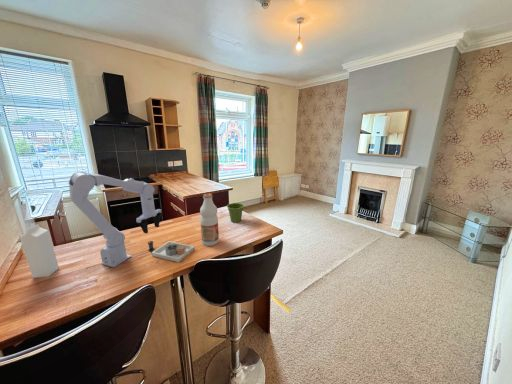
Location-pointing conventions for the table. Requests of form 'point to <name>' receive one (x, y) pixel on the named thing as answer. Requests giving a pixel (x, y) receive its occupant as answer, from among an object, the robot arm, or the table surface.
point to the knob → (151, 246)
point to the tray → (177, 258)
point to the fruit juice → (209, 221)
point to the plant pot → (235, 211)
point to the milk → (39, 252)
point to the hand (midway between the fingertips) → (151, 229)
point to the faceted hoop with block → (175, 250)
